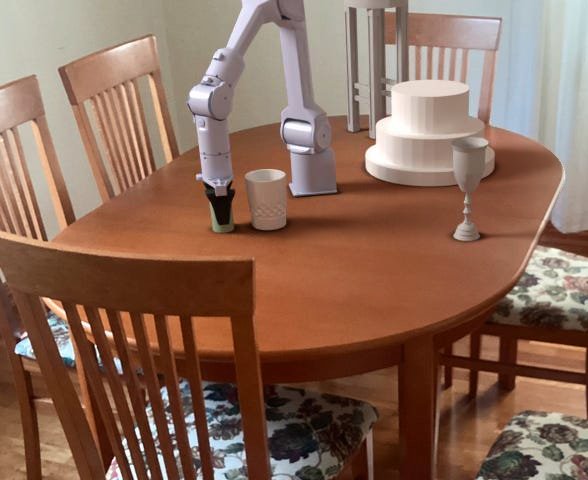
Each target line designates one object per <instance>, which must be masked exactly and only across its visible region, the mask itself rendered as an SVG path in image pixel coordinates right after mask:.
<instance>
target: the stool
mask: <svg viewBox="0 0 588 480" xmlns="http://www.w3.org/2000/svg"><path fill="white" fill-rule="evenodd" d="M394 8H395V79H391V78H388V77H387V68H386V62H387V61H386V57H387V56H386V9H394ZM358 9H366V36H367V41H366V42H367V78H368V79H367V82H368V84H364V83H361V82H359V81H360V79H359V49H358V48H359V47H358V46H359V44H358V15H357V14H358V12H357V10H358ZM343 27H344V57H345V83H346V84H345V85H346V111H347V112H346V113H347V131H349V132H352V133H355V132H360V131H361V117H360V116H361V115H360V114H361V113H360V103H364V104H366V105H368V123H369V124H368V125H369V126H368V127H369V138H370V139H372V140H376V123H377V122H378V121H380V120H382V119H384V118H386V117H387V97H388V98H391V90H387V85H389V86H391V87H392V86H394V85H396V84H398V83H402V82H407V81H410V80H409V79H410V77H409V75H410V73H409V70H410V69H409V67H410V66H409V65H410V64H409V60H410V59H409V53H410V51H409V44H410V43H409V41H410V39H409V0H343ZM360 90H361V91H364V92H368V97H367V96H363V95H360Z"/></svg>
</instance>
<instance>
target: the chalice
mask: <svg viewBox="0 0 588 480" xmlns="http://www.w3.org/2000/svg"><path fill="white" fill-rule="evenodd" d="M489 142H490V141H488V139H486V138H484V139H483V138H478V137H462V138H457V139H454V140H452V141H451V145H452V147H453V171H454V175H455V178H456V180H457V183H458V184H457V185H458V187H459V188H460V191H461V192H463V193H464V194H465V198H464V200H463V204H464V210H463V211H462V213H463V214H464V220H463V221H462V222H460V223H458V225H457V226H456V229H455V232H454V234H453V238H454V239H456V240H458V241H464V242H473V241H477V240H478V239H480V237H481V235H480V234H479V230H478V229H477V225H476V224H475V223H473V222H472V221H471V218H470V217H471V214H472V213H473V210H471V204H473V201H472V198H471V195H472V193H473V192H475V191H476V190H477V188H478V187H479V184H480V182H481V180H482V179H483V178H482V175H483V173H484V170H485V152H486V147H487V146H489V144H490V143H489Z"/></svg>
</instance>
